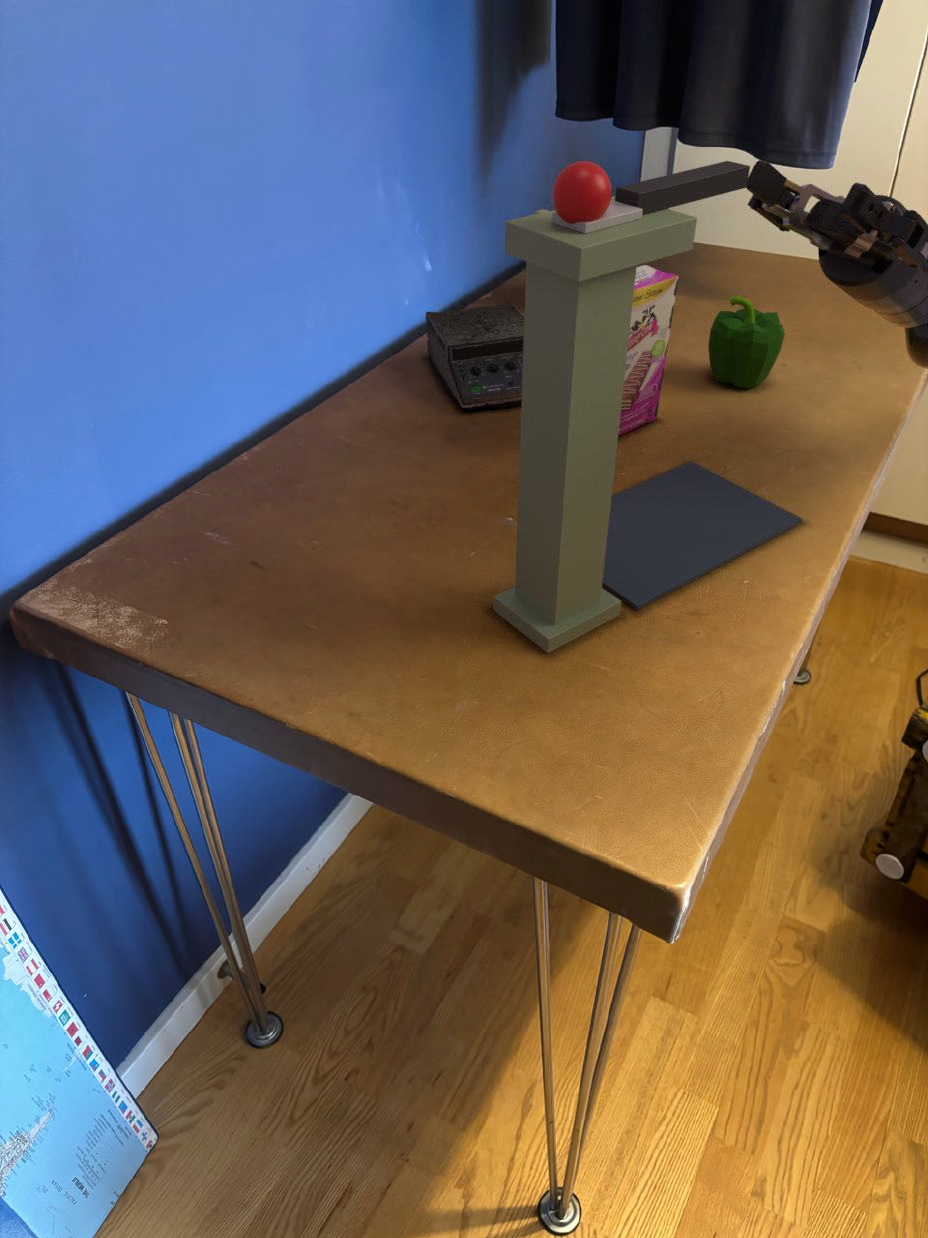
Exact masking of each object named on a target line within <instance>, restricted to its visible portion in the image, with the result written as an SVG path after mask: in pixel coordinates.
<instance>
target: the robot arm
mask: <svg viewBox="0 0 928 1238" xmlns="http://www.w3.org/2000/svg"><path fill="white" fill-rule="evenodd" d="M745 189H746V190H747V191H748V192H750V193H751V194H752V195H751V197H750V199H749V200H748V203H747V206H748V207H749V208H750V209H751V210H752V211H755V212H756V213H757V214H759V215H760V216H761V217H763V218H764V219H765V220H767V221H768V222H769V223H770V224H772V225H774V226H775V227H776V228H777V229H778V230H779V231H781V232H782V233H783V232H791V231H792V232H794V233H796V234H798V235H800V236H802V237H804V238H806V239H807V240H809V243H810V244H811V245H812V246H814V247H816V248H817V250H818V251H817V253H818V254H817V255H818V262H819V266H820V269H821V271H822V273H823V275H824V276H825V277H826V278H827V279H828V280H829V281H830V282H831V283H832V284H834V285H835V286H836V287H838V288H839V289H840V290H841V291H843V292H844V293H845V294H847V295H848V296H849V297H850V298H851V299H853V300H855V302H857V303H858V304H860V305H862V306H863V307H865V308H868V309H870V310H872V311H874V312H875V313H876V314H877V315H879V316H880V317H881V318H883V319H884V320H885V321H887V322H889V323H890V324H892V325H895V326H897V327H900V328H904V329H903V330H904V337H905V338H904V339H905V345H906V351H907V354H908V357H909V359H910V360H911V361H912V362H913V363H914V364H915V365H916V366H918V367H920V368H922V369H925V370H928V223H927V221H926V220H925V219H924V218H923V217H922V215H921V214H919V213H918V211H917V210H914V209H907V208H906V206H904V204H902V203H901V202H900V201H899V200H898V199H896V198H894V197H891V196H888V195H883V194H876V193H875V192H873V191H872V190H871V189H870V187H868V186H867V184H864V183H859V182H854V183H853V184H852V185H851V187H850V188H849V191H848V193H847V194H846V196H844V195H834V194H833V193H830V192H828V191H827V190H825V189H822V188H821V187H818V186H817V185H815V184H813V183H808V184H803V185H799V184H798V183H796V182H794V181H792V180H790V179H788V178H787V177H786V176H784V174H782V173H781V172H780V171H779V170H778V169H777V168H776V167H774V166H773V165H772V164H771V163H770V162H769V161H766V160H761V159H759V160H757V161H756V162H755V164H754V165H753V167H752V170H750V172H749V176H748V182H747V187H746V188H745ZM811 197H812V198H815V199H816V200H818V201H817V202H816V203H815V204H814V205H813V206H812V207H811V208H810V210H809V211H806V210H805V209H806V207H807V204H808V202H809V201H810V199H811Z"/></svg>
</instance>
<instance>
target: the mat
mask: <svg viewBox="0 0 928 1238" xmlns="http://www.w3.org/2000/svg"><path fill="white" fill-rule="evenodd" d="M802 522H803V518H802V517H800V516H798V515H796V514H794V513H792V512H790V511H788V510H787V509H785V508H782V507H780V506H779V505H777V504H775V503H773V502H771V501H769V500H768V499H765V498H764V497H761V496H759V495H757V494H755V493H753V492H751V491H750V490H748V489H746V488H744V487H742V486H740V485H738V484H736V483H734V482H733V481H730V480H728V479H727V478H724V477H722V476H720V475H718V474H716V473H715V472H712V471H711V470H709V469H707V468H705V467H703V466H701V465H699V464H697V463H695V462H694V461H692V460H691V461H688V462H685V463H683V464H682V465H679V466H677V467H674V468H673V469H670V470H668V471H666V472H663V473H660V474H658V475H656V476H654V477H652V478H649V479H647V480H645V481H643V482H640V483H638V484H636V485H634V486H632V487H629V488H627V489H625V490H622V491H621V492H618V493H616V494H614V495H613V494H612V497H611V506H610V515H609V525H608V534H607V543H606V552H605V561H604V571H603V580H602V588H603V589H604V590H606V591H607V592H609V593H610V594H612V595H613V596H615V597H616V598H618V599H619V600H620V601H622V602H623V603H625V604H626V605H628V606H629V607H631V608H632V609H634V610H635V611H640V610H642V609H643V608H645V607H647V606H648V605H650V604H653V603H654V602H656V601H658V600H660V599H662V598H664V597H665V596H667V595H669V594H671V593H673V592H675V591H676V590H679V589H680V588H682V587H685V586H686V585H688V584H690V583H691V582H693V581H696V580H697V579H699V578H702V577H703V576H705V575H706V574H709V573H710V572H712V571H715V570H716V569H718V568H720V567H722V566H723V565H726V564H727V563H729V562H731V561H733V560H735V559H737V558H739V557H741V556H742V555H744V554H746V553H748V552H751V550H754V549H755V548H758V547H759V546H761V545H763V544H765V543H767V542H768V541H771V540H772V539H774V538H776V537H778V536H780V535H782V534H783V533H785V532H787V531H790V530H792V529H793V528H795V527H797V526H799V525H800V524H802Z"/></svg>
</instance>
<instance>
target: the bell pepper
mask: <svg viewBox="0 0 928 1238" xmlns="http://www.w3.org/2000/svg"><path fill="white" fill-rule="evenodd" d="M729 303H730V305H731V307H733V306H735V305H738V306H742V307H743V308H740V309H738V310H736V311H735V312H734V311H731V310H720V311H719V312H718V314H716V317H715V318H714V320H713V322H712V325H711V326H710V327H711V328H710V330H709V337H708V357H709V358H708V359H709V366H710V371H711V373H712V375H713V377H714V379H715V380H716V381H717V382H720V383H724V384H731V385H733V386H735V387H738V388H740V389H748V388H752V389H753V388H755V387H759V386H761V384H762V383H763V382H764V381H765V380H766V379H767V377H769V375H770V374H771V371H772V369H773V367H774V366H775V363H776V361H777V359H778V357H779V356H780V353H781V352H782V351H781V350H782V347H783V343H784V339H785V335H786V334H785V329H784V326H783V324H781V320H780V317H779V315H778V313H777V311H770V312H769V311H768V312H762V311H761V310H758V309H756V308H754V305H753V302H751V301H750V300H749V299H748V298H747V297H743V296H738V295H735V296H730V297H729Z"/></svg>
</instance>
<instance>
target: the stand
mask: <svg viewBox="0 0 928 1238" xmlns="http://www.w3.org/2000/svg"><path fill="white" fill-rule="evenodd" d="M611 200H613V201H615V195H612V196H611ZM547 211H548V212H543V213H539V214H535V215H533V214H531V215H527V216H523V217H517V218H513V219H509V220H506V221H505V225H504V254H505V255H509V256H511V257H513V258H515V259H518V260H521V261H524V262H525V264H526V265H525V286H524V287H525V289H524V291H525V292H524V315H523V316H524V345H523V374H522V403H521V404H520V405H521V406H520V407H521V408H520V409H521V410H520V436H519V439H520V440H519V462H518V463H519V465H518V495H517V523H516V524H517V525H516V551H515V552H516V555H515V581H514V584H515V585H514V586H512V587H510V588H507V589H506V590H504V591H502V592H499V593H497V594H495V595H493V598H492V607H493V608H492V610H493V612H495V613H496V614H497V615H498V616H500V617H501V618H502V619H503V620H505V621H506V622H508V623H509V624H510V625H511V626H512V627H513V628H515V629H516V630H517V631H518V632H520V633H521V634H523V635H524V636H525V637H526V638H527V639H529V640H530V641H531V642H533V644H535V645H536V646H538V647H539V648H540V649H541V650H542V651H544V652H545V653H547V654H549V653H551V652H553V651H555V650H557V649H559V648H560V647H563V646H564V645H566V644H568V643H570V642H572V641H574V640H576V639H578V638H579V637H580V638H581V636H584V635H585V634H587V633H589V632H590V631H591V632H592V631H593V630H595V629H597V628H599V627H600V626H602V625H604V624H606V623H608V622H610V621H612V620H613V619H615V618H618V617H619V616H621V610H622V602H623V601H622V600H621V599H619V598H618V597H616V596H615V595H614V594H612V593H611V592H609V591H608V590H606V589H605V588H603V587H602V580H603V571H604V561H605V552H606V543H607V534H608V525H609V515H610V506H611V497H612V496H613V488H614V478H615V477H614V476H615V468H616V461H617V460H616V458H617V451H618V449H617V448H618V442H619V441H618V439H619V436H618V433H619V424H620V414H621V405H622V396H623V387H624V378H625V368H626V359H627V350H628V341H629V332H630V322H631V313H632V304H633V295H634V286H635V276H636V267H638V266H641V265H645V264H648V263H651V262H655V261H658V260H661V259H665V258H668V257H671V256H675V255H679V254H682V253H685V252H689V251H693V248H694V242H695V235H696V227H697V223H698V222H697V221H698V218H697V217H696V216H693V215H690V214H686V213H683V212H679V211H676V210H672V209H670V208H668V209H664V210H660V211H656V212H652V213H649V214H645V215H642V218H641V219H638V220H634V221H631V222H627V223H623V224H619V225H616V226H612V227H608V228H604V229H601V230H597V231H593V232H589V233H586V234H585V233H582V232H578V231H575V230H572V229H569V228H566V227H563V226H560V225H557V224H554V223H552V213H555V212H556V211H555V209H553V210H547Z"/></svg>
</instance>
